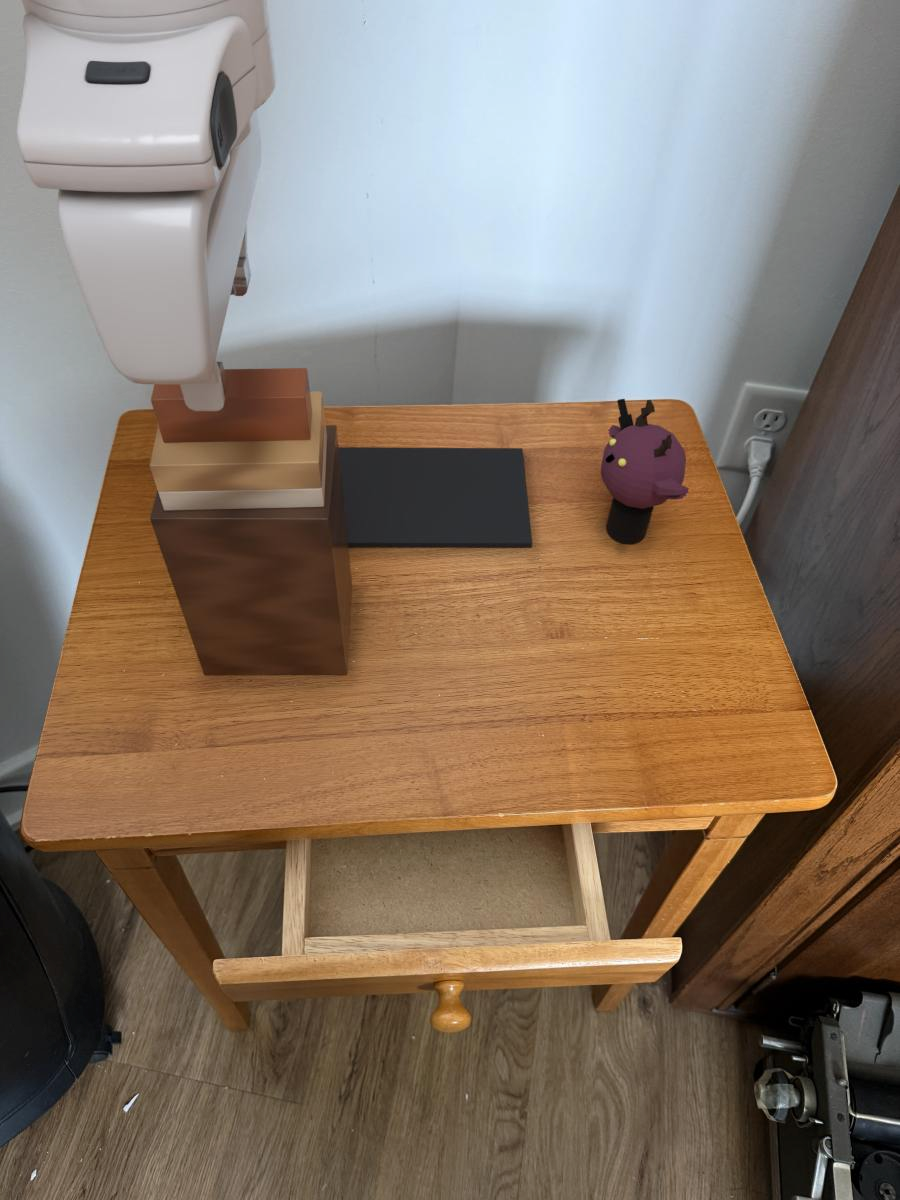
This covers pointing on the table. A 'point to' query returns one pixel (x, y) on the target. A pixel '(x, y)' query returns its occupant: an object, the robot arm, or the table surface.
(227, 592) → the riser
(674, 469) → the figurine
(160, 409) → the stepped wooden block
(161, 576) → the table surface
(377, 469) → the mat
